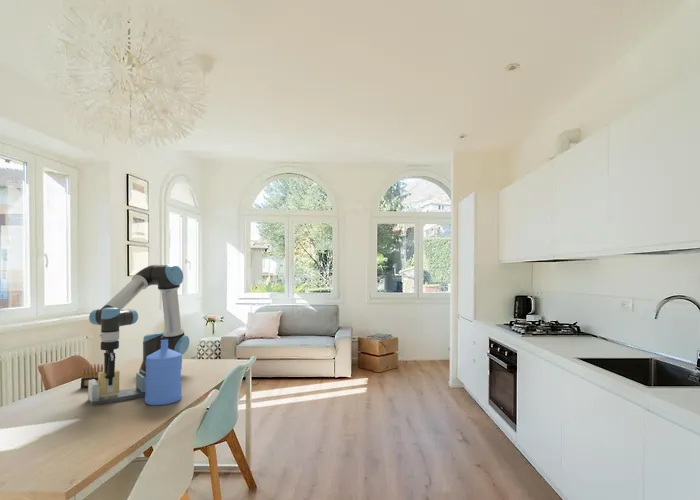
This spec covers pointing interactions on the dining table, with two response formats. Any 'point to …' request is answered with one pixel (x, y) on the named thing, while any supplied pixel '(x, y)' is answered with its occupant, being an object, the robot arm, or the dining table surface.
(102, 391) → the brass block
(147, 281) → the robot arm
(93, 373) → the ammunition clip
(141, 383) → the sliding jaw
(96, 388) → the grey l-shaped bracket
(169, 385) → the water jug
